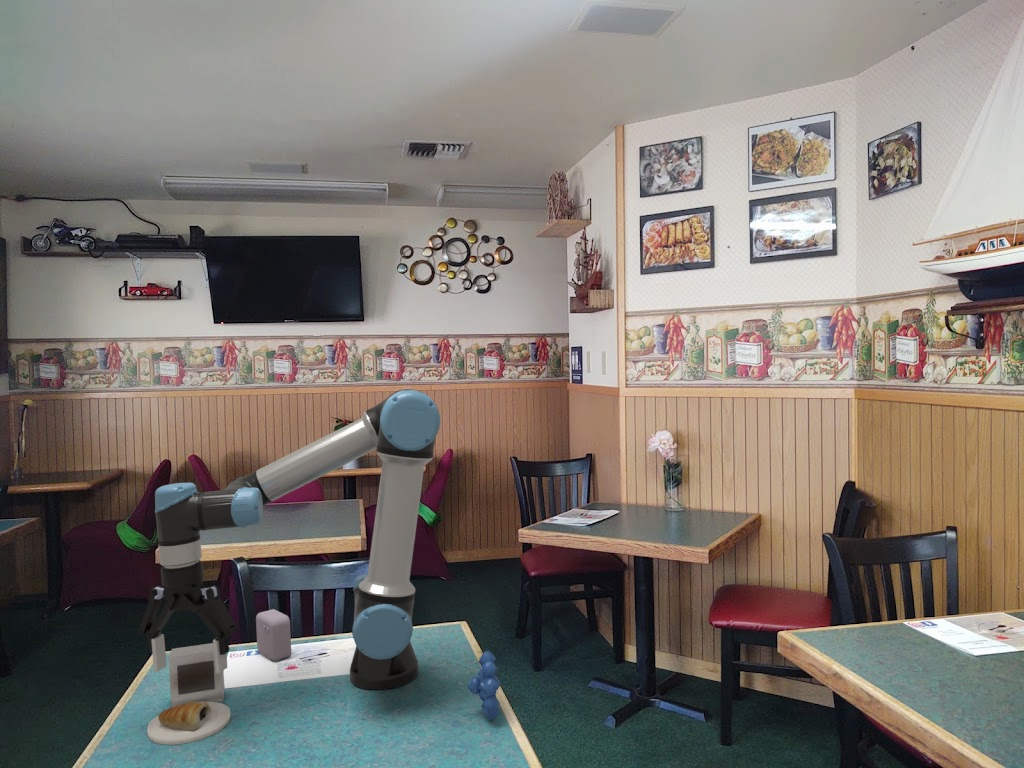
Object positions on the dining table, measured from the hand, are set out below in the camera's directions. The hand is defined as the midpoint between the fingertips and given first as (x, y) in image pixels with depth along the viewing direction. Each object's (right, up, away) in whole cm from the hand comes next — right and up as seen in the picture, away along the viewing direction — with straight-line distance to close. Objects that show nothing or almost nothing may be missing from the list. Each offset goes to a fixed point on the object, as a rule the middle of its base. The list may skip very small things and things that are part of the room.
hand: (190, 669), depth 146 cm
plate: (0, -11, 0) cm, 11 cm away
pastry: (0, -10, -2) cm, 10 cm away
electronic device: (+5, -10, +35) cm, 37 cm away
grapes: (+58, -9, 0) cm, 59 cm away
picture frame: (-3, -11, +11) cm, 16 cm away
